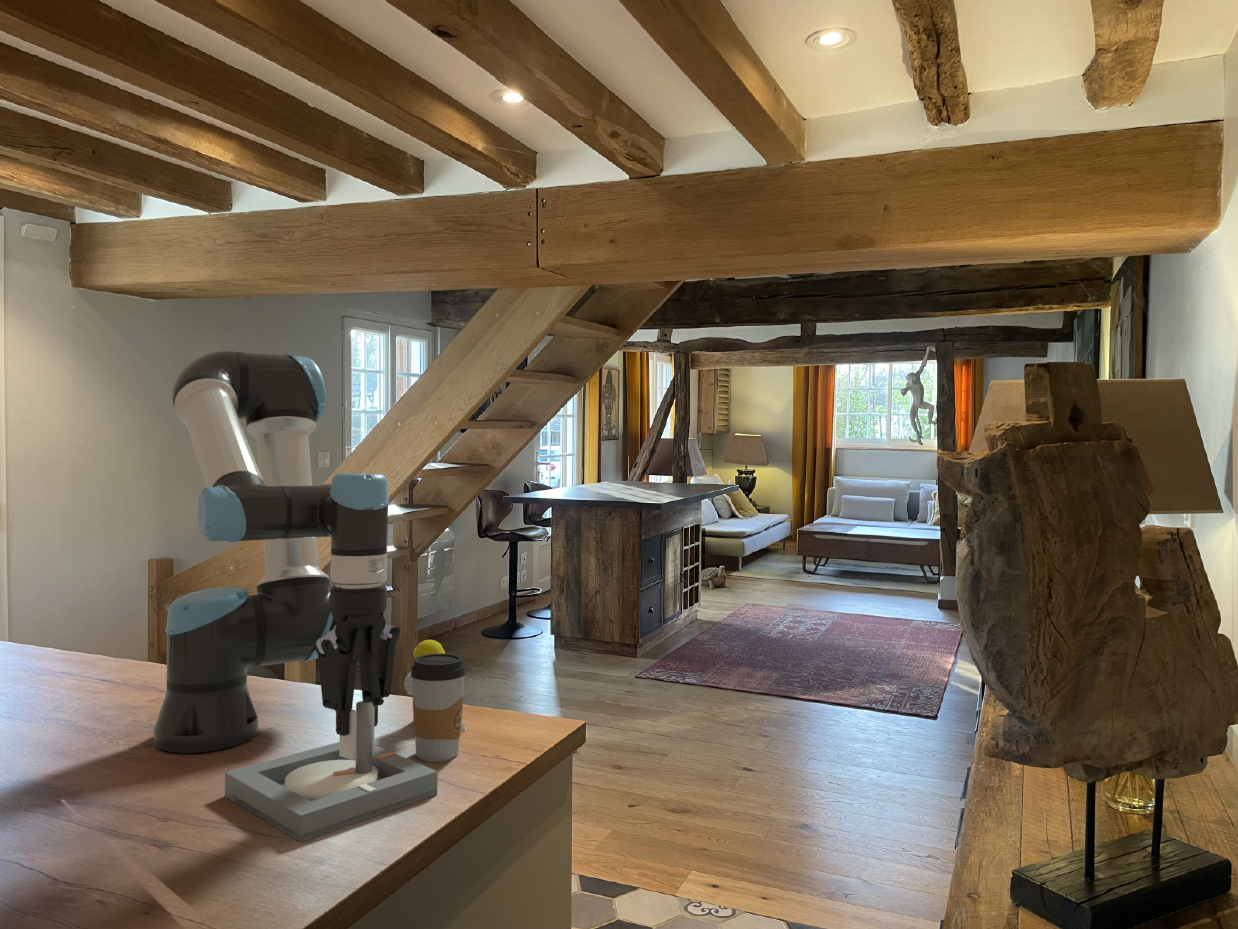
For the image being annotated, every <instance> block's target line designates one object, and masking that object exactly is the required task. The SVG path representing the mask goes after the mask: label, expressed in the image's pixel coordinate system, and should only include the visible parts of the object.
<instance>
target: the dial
mask: <svg viewBox="0 0 1238 929" xmlns="http://www.w3.org/2000/svg"><path fill="white" fill-rule="evenodd" d="M355 710H356V711H357V759H356V760H330V761H322V762H317V763H313V764H309V765H305V766H303V767H300V768H298V769H295V770H294V771H292V772H290V773H289V774H288V775H287V776H286V778H285V787H286V788H287V789H289V790H291V791H293V792H295V793H297V794H299V795H300V796H302V797H304V798H306V799H308V800H310V801H313V800H316V799H320V798H323V797H326V796H329V795H332V794H336V793H339V792H342V791H345V790H348V789H352V788H355V787H358V785H362V784H368V783H371V782H374V781H377V780H378V770H377V768H376V767H375V766H373V765H372V731H373V702H372V701H363V700H360V701H358V702H356V703H355Z"/></svg>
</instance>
